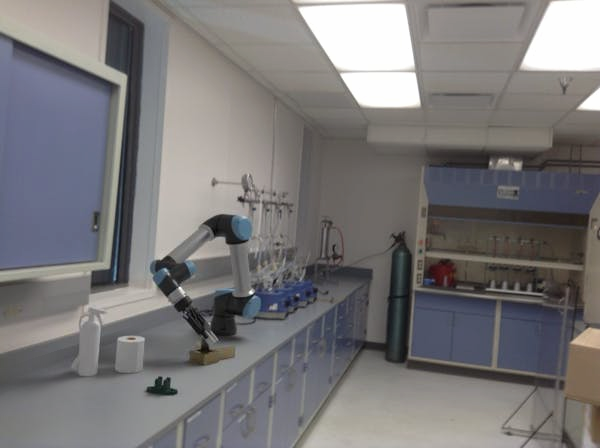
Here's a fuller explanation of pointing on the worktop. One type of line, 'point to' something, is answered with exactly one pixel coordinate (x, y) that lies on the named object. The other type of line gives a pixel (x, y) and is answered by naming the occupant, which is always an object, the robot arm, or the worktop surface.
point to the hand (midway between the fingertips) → (214, 342)
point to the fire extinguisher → (89, 342)
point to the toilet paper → (129, 354)
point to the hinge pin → (203, 342)
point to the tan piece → (210, 354)
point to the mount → (162, 387)
